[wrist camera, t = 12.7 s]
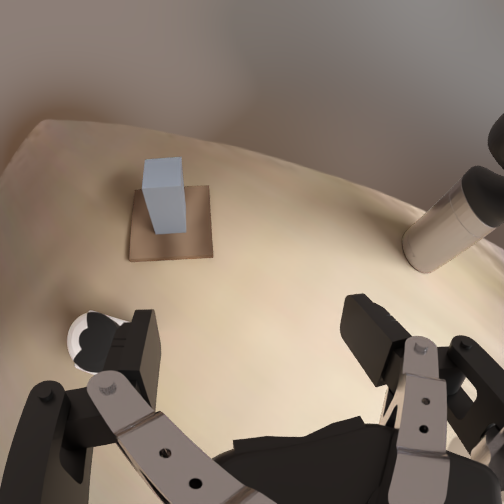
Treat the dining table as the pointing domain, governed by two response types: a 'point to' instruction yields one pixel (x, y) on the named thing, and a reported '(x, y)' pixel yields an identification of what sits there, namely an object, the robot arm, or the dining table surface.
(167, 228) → the block
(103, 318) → the medicine bottle
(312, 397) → the dining table surface
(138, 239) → the board
